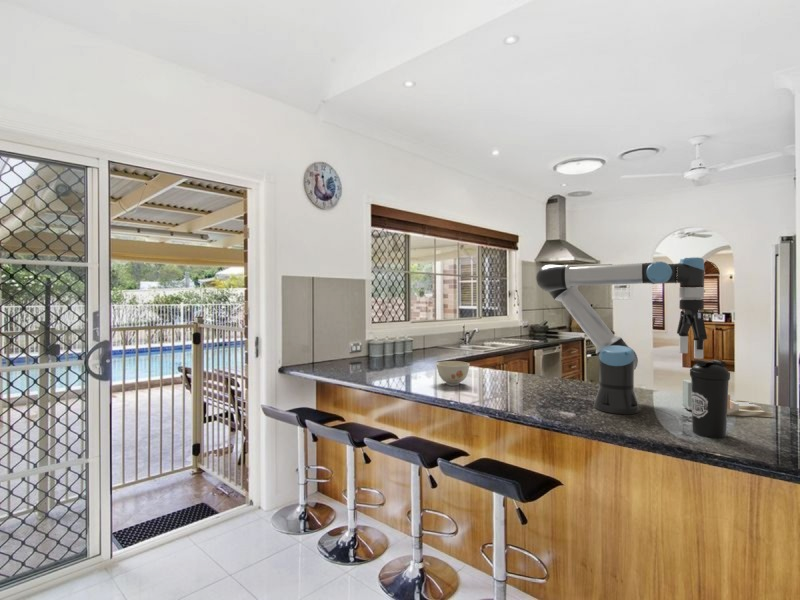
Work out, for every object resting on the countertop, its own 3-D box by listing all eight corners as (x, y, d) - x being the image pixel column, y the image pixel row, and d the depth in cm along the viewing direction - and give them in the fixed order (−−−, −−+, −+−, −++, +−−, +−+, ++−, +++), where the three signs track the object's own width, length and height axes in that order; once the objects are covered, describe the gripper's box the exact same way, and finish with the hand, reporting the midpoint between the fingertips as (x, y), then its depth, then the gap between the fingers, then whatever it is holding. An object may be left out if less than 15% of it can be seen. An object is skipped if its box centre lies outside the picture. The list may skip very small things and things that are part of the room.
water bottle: (681, 429, 138) (682, 358, 137) (711, 428, 139) (711, 357, 138) (706, 439, 128) (707, 363, 127) (738, 438, 128) (739, 363, 128)
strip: (688, 409, 157) (688, 382, 157) (682, 405, 163) (682, 379, 163) (738, 412, 153) (739, 384, 153) (730, 408, 159) (730, 381, 159)
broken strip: (709, 406, 162) (709, 403, 162) (702, 402, 168) (702, 399, 168) (759, 409, 159) (759, 406, 158) (750, 404, 164) (750, 402, 164)
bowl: (435, 387, 200) (435, 366, 199) (437, 380, 215) (437, 360, 215) (469, 388, 197) (469, 367, 197) (469, 381, 213) (469, 361, 212)
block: (714, 408, 156) (714, 394, 156) (708, 404, 160) (708, 391, 160) (730, 408, 154) (730, 395, 154) (723, 405, 159) (723, 392, 159)
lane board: (705, 413, 155) (705, 408, 155) (687, 402, 171) (687, 398, 170) (773, 417, 150) (773, 412, 150) (748, 405, 165) (748, 401, 165)
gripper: (719, 299, 146) (718, 361, 146) (689, 298, 170) (688, 351, 171) (694, 299, 148) (693, 360, 148) (668, 298, 172) (667, 350, 172)
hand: (690, 355), depth 159 cm, fingers open, 13 cm apart
